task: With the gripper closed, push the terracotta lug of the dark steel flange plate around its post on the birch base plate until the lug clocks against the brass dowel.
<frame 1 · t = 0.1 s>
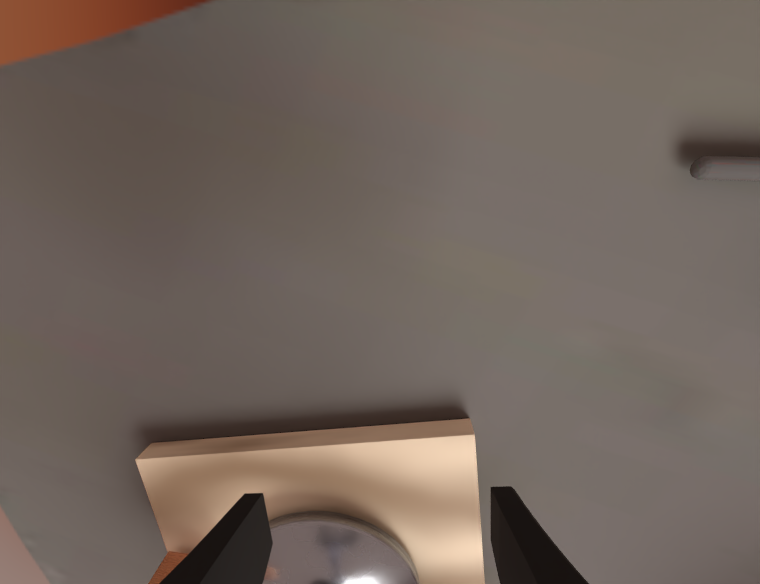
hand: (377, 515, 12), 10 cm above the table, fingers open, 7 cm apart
base plate: (330, 556, 25), on the table
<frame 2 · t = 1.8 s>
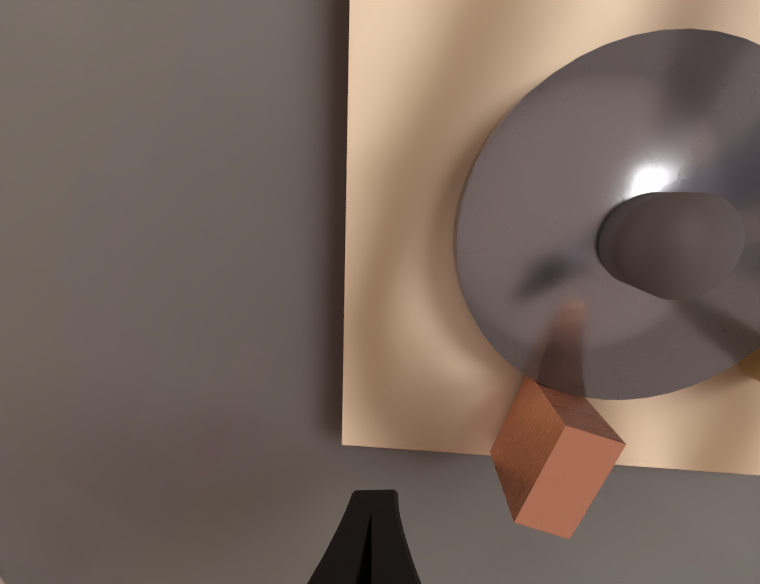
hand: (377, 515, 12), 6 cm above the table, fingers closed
flange: (625, 300, 12), point 4 cm above the table, hinge at 0.0°
base plate: (595, 229, 15), on the table
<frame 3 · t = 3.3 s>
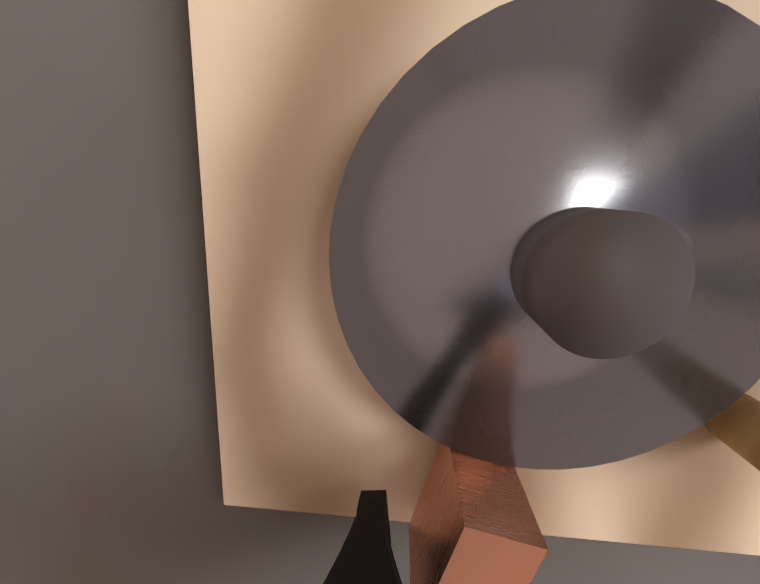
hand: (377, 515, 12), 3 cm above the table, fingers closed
flange: (548, 351, 9), point 4 cm above the table, hinge at 2.3°, touching gripper
base plate: (528, 248, 12), on the table
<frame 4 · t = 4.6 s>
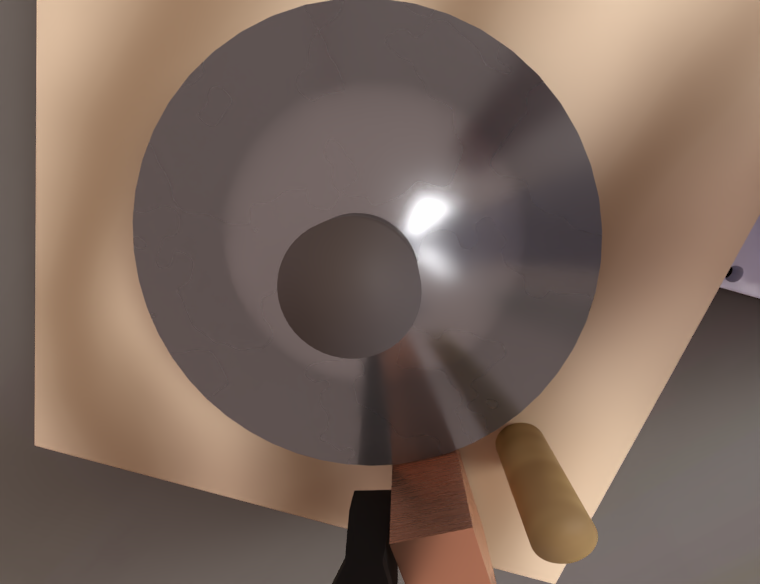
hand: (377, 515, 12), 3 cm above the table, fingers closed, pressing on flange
flange: (381, 352, 9), point 4 cm above the table, hinge at 48.2°, touching gripper
base plate: (369, 252, 12), on the table
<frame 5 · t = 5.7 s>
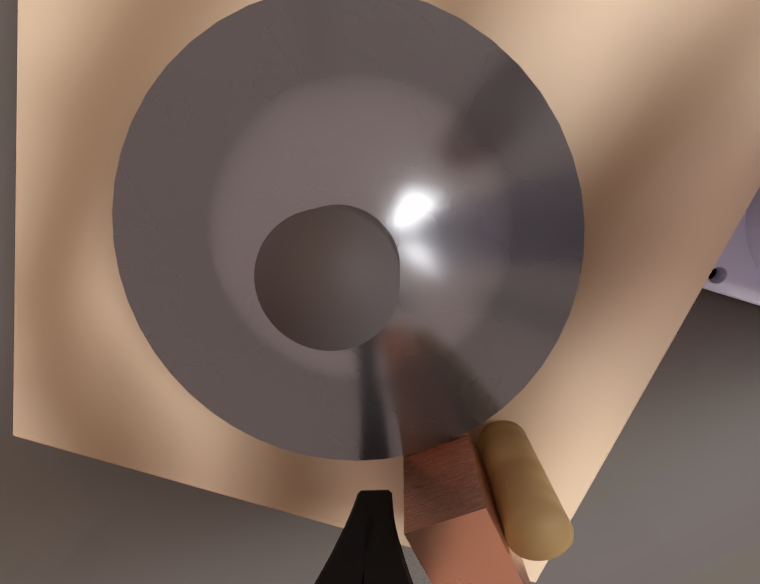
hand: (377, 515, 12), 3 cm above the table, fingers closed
flange: (373, 341, 9), point 4 cm above the table, hinge at 57.0°, touching gripper
base plate: (355, 246, 12), on the table
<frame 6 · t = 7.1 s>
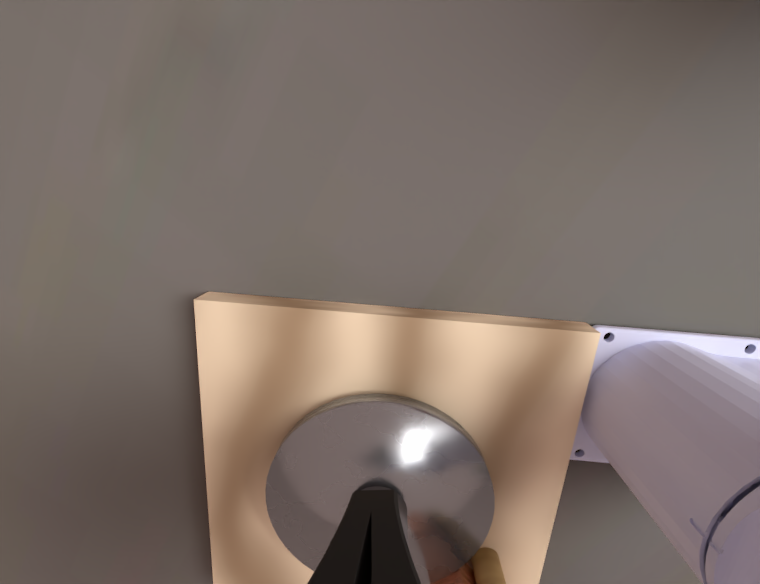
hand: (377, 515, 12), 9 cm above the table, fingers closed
flange: (401, 543, 19), point 4 cm above the table, hinge at 56.9°
base plate: (381, 464, 22), on the table
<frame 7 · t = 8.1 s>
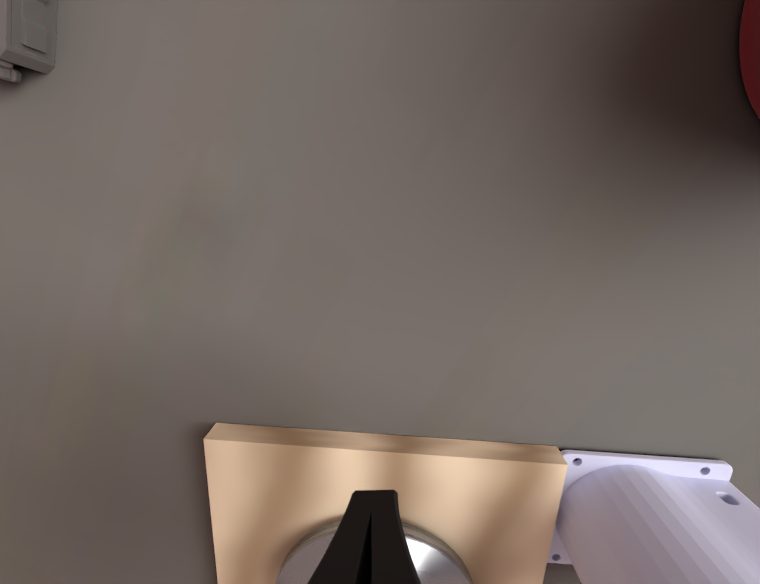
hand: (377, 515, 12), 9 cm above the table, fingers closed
base plate: (376, 564, 24), on the table
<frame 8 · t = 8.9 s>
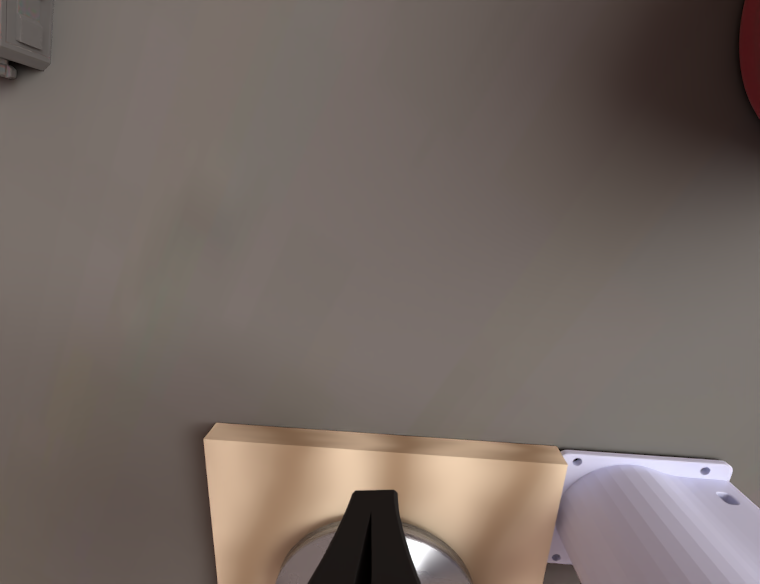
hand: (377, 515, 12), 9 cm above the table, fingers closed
base plate: (376, 564, 24), on the table
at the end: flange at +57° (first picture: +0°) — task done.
